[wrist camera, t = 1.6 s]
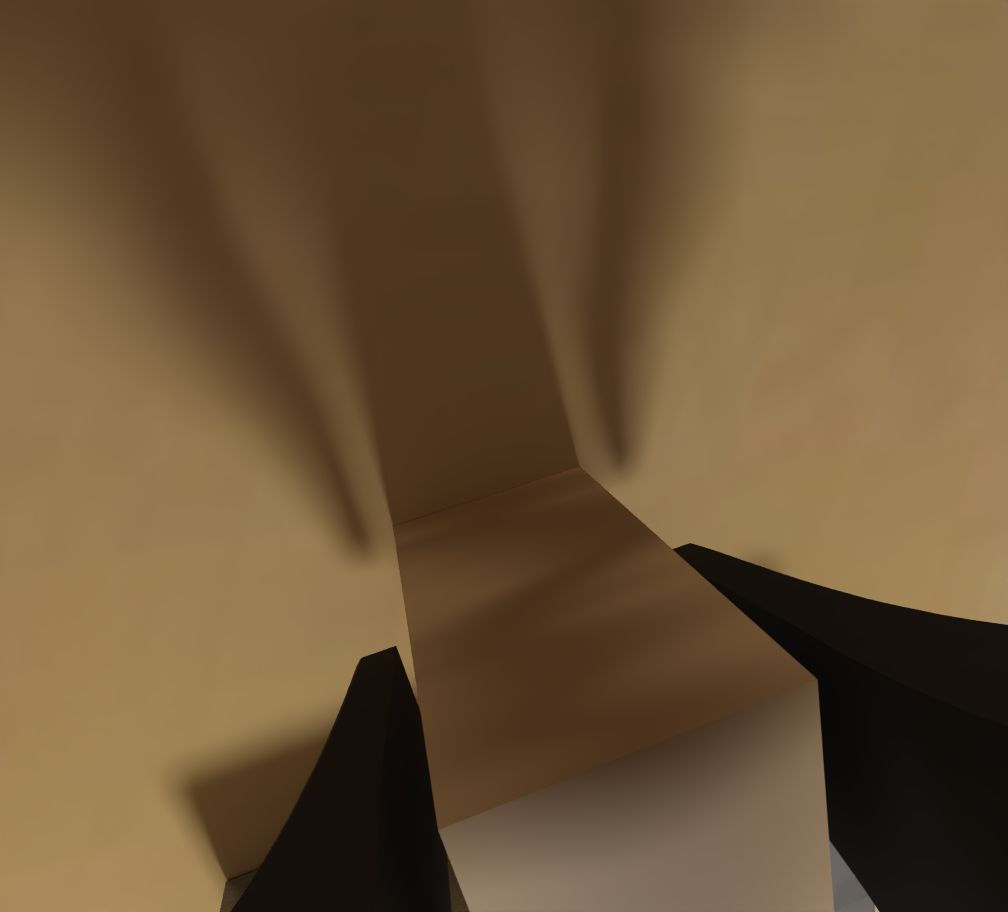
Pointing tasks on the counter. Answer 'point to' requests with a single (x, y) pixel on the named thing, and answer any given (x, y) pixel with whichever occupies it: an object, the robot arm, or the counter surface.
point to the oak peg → (606, 716)
